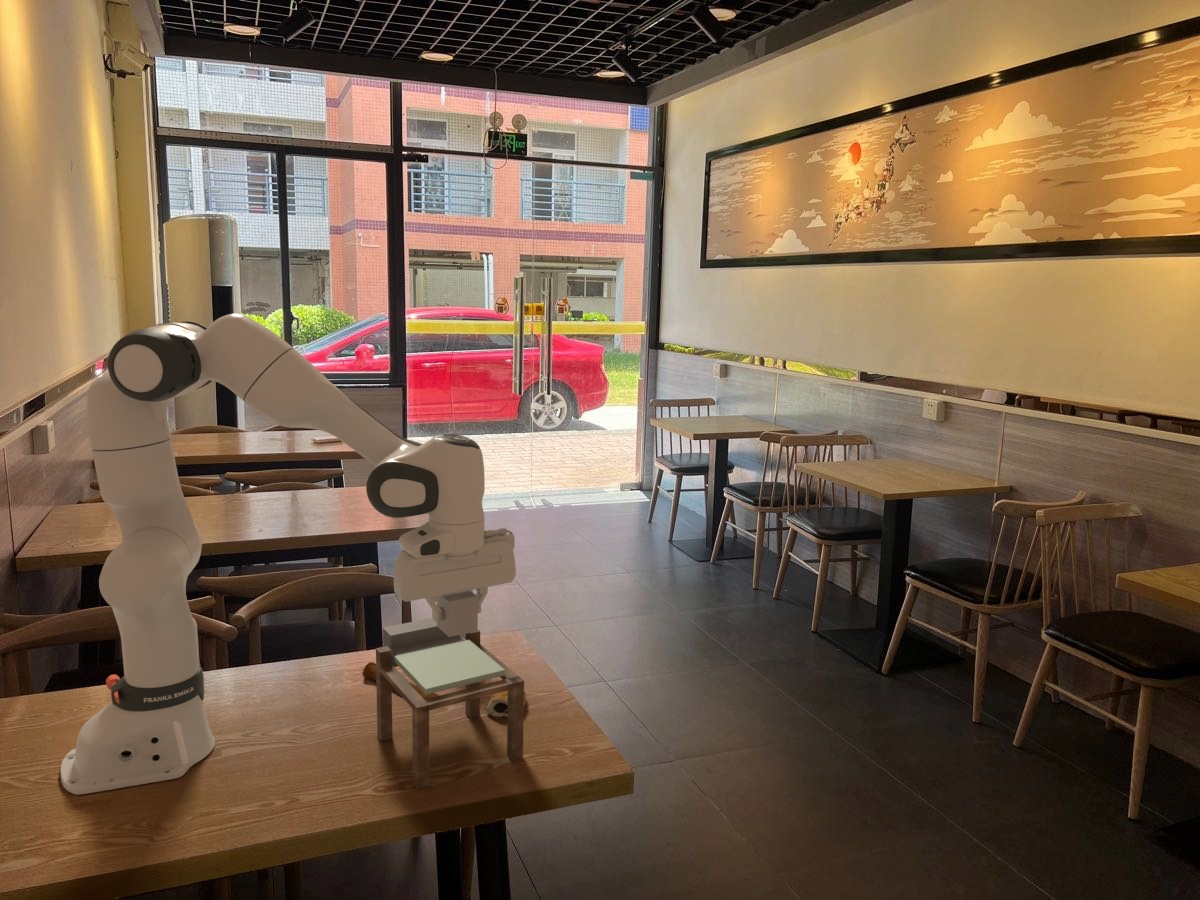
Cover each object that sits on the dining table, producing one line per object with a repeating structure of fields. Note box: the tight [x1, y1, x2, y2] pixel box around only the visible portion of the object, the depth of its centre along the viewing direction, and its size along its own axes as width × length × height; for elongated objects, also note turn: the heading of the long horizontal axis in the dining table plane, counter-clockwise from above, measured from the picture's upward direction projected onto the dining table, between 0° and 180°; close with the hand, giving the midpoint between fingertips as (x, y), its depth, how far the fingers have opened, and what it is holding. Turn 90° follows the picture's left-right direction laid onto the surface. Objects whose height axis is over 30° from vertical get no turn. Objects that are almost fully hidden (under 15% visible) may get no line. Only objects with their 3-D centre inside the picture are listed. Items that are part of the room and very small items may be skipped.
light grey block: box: [436, 590, 479, 637], centre depth 141 cm, size 5×5×6 cm
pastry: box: [485, 690, 527, 718], centre depth 164 cm, size 9×7×4 cm
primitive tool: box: [361, 661, 440, 699], centre depth 169 cm, size 19×6×4 cm, turn 57°
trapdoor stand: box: [375, 629, 525, 791], centre depth 148 cm, size 19×19×16 cm
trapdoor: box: [382, 617, 505, 695], centre depth 149 cm, size 14×21×6 cm, turn 33°
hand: (456, 616), depth 142 cm, fingers closed on light grey block, 5 cm apart
